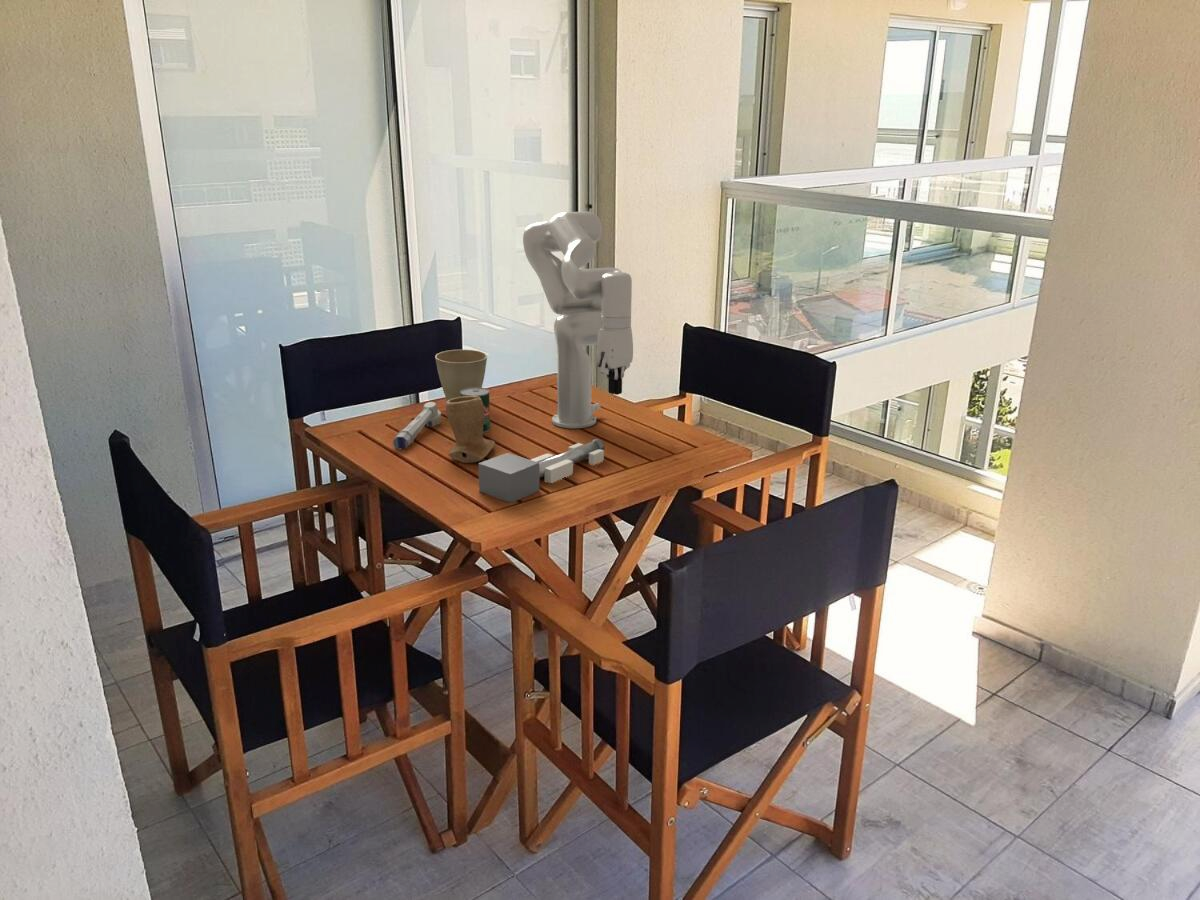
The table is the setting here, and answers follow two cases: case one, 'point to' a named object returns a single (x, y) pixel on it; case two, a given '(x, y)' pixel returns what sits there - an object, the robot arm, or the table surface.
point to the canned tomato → (484, 396)
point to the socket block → (508, 477)
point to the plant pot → (460, 370)
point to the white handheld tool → (418, 425)
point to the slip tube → (572, 455)
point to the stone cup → (468, 429)
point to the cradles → (566, 464)
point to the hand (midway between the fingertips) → (615, 393)
